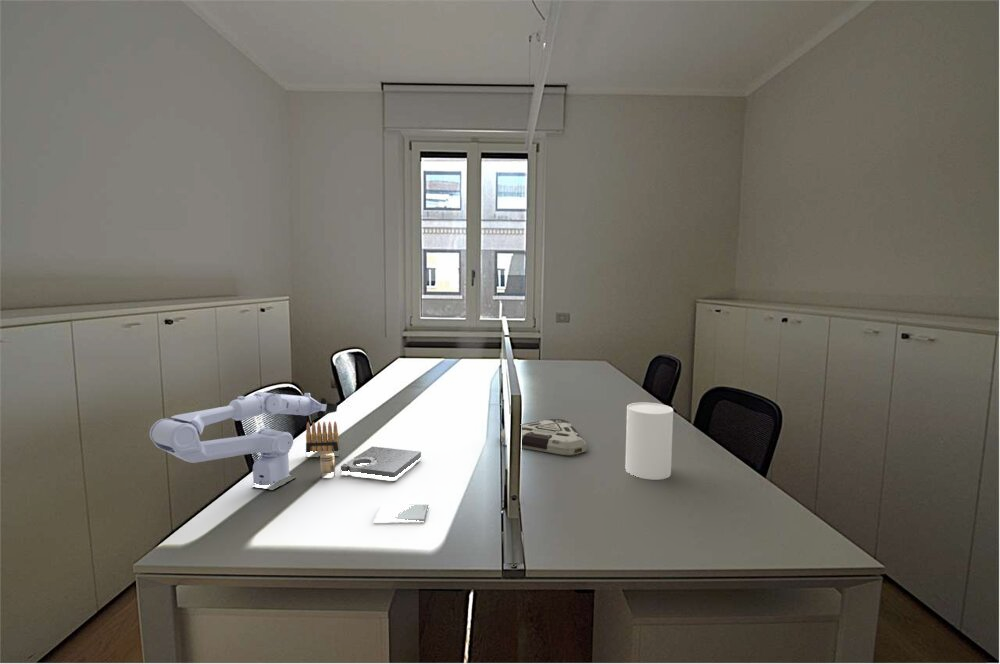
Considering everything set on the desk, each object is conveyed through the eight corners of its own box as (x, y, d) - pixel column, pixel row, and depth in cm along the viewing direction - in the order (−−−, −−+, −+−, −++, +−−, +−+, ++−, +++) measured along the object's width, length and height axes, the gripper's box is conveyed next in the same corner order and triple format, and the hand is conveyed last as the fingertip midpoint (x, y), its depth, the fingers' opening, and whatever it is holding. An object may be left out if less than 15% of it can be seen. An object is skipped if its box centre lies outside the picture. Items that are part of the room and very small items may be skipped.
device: (492, 444, 177) (492, 431, 176) (524, 424, 200) (524, 413, 200) (579, 460, 161) (579, 445, 161) (602, 436, 185) (602, 424, 185)
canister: (669, 465, 156) (671, 403, 154) (672, 481, 143) (674, 415, 141) (625, 460, 159) (627, 401, 157) (624, 476, 146) (626, 412, 144)
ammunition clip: (305, 457, 163) (304, 422, 161) (307, 455, 164) (305, 421, 163) (338, 456, 164) (337, 422, 162) (339, 454, 165) (338, 420, 164)
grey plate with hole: (394, 482, 143) (394, 472, 142) (341, 475, 148) (340, 466, 147) (421, 460, 160) (420, 451, 160) (372, 455, 165) (372, 446, 165)
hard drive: (428, 503, 127) (380, 503, 127) (424, 518, 119) (373, 519, 119) (428, 509, 127) (380, 510, 127) (424, 525, 119) (373, 525, 119)
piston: (329, 479, 145) (329, 457, 144) (317, 478, 146) (316, 455, 145) (338, 474, 149) (337, 452, 148) (326, 472, 150) (325, 450, 149)
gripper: (312, 393, 144) (345, 396, 156) (279, 390, 151) (313, 393, 163) (308, 417, 143) (342, 418, 155) (275, 413, 150) (310, 414, 161)
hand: (327, 407), depth 159 cm, fingers open, 7 cm apart
